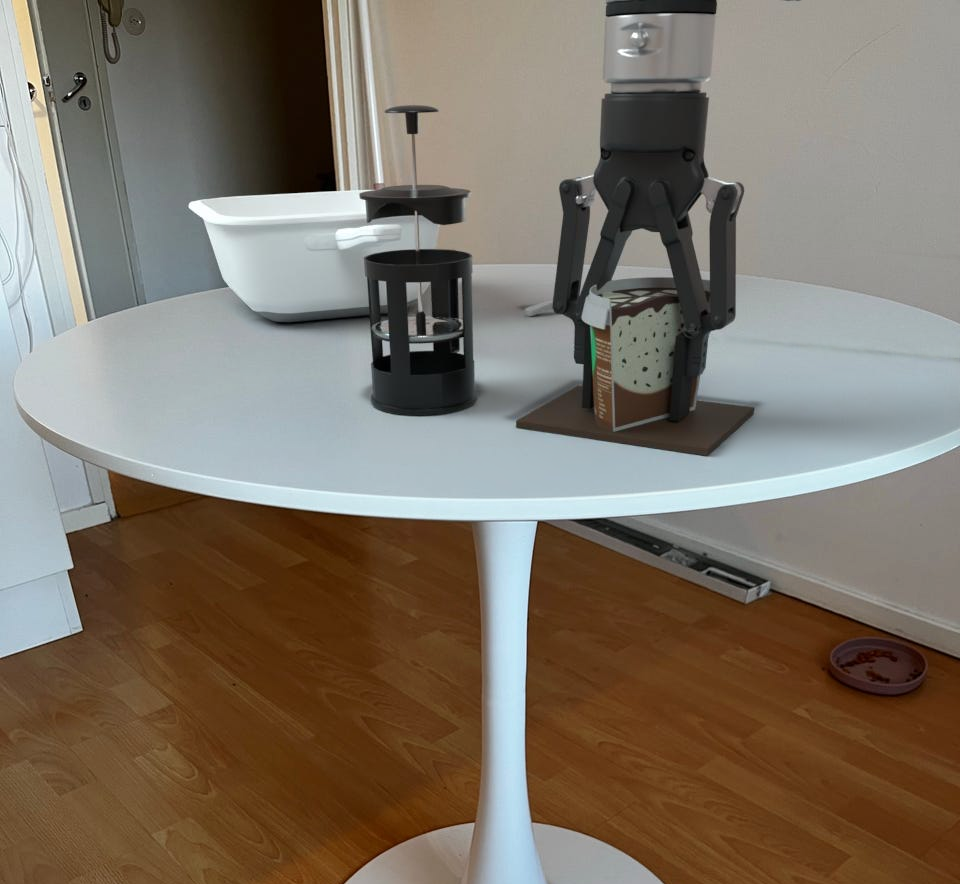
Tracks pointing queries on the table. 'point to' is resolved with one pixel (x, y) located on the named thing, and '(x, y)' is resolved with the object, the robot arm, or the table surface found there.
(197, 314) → the table surface
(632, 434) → the mat
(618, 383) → the food container
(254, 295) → the white dish tub
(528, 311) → the spoon
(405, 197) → the french press
